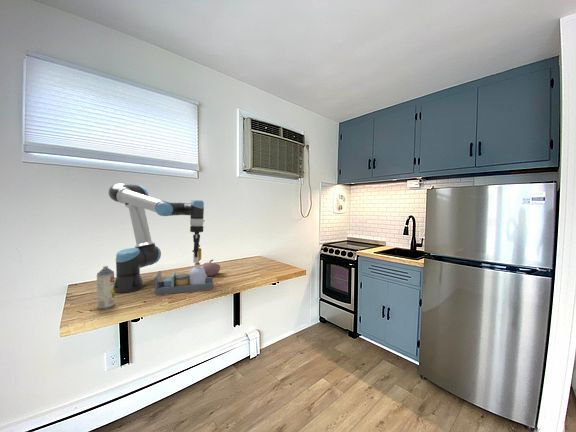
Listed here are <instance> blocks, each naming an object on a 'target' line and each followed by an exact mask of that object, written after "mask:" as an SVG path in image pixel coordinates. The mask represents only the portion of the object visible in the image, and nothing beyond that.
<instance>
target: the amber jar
mask: <svg viewBox="0 0 576 432" xmlns="http://www.w3.org/2000/svg"><path fill="white" fill-rule="evenodd" d="M186 285H189V273H179V274H176V276H175V286H186Z"/></svg>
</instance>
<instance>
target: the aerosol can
mask: <svg viewBox="0 0 576 432" xmlns="http://www.w3.org/2000/svg"><path fill="white" fill-rule="evenodd" d="M114 282H115V271H114V270H112V269H110V268H109V267H108V265H104V266H103V267H102V268H101V270H100V271H98V272H97V273H96V302H97V303H96V305H97V306H96V307H97V308H98V310H106V308H107V309H110V308H112V306H113V307H114V306H115V304H116V303H115V301H116V299H115V298H116V297H115V296H116V295H115V293H116V292H114Z"/></svg>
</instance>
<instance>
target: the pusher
mask: <svg viewBox="0 0 576 432" xmlns="http://www.w3.org/2000/svg"><path fill="white" fill-rule="evenodd" d="M176 273H177V272H176V271H173V272H172V274H171V277H166V278H165V279H164V280H163V281H164V287H175V276H176V275H177V274H176ZM164 287H163V288H164Z"/></svg>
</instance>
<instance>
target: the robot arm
mask: <svg viewBox="0 0 576 432" xmlns="http://www.w3.org/2000/svg"><path fill="white" fill-rule="evenodd" d="M108 197H109V198H110V199H111V200H113V201H114V202H116V203H117V202H118V203H120V204H124V206H125V207H126V208H127V209H128V210H129V215H130V216H129V217H130V220H131V224H132V229H133V234H134V239H135V243H136V245H135V246H134V247H130V248H125V249H122V250H119V251H117V253H116V255H115V257H116V258H115V271H116V272H115V274H116V276H115V279H114V292H115V293H117V294H119V293H120V294H121V293H123V294H124V293H131V292H136V291H137V290H141V289H142V288H144V281H143V279H142V276H141V268H145V267H147V266H152V265H154V264H157V263H158V262H159V260H160V259H161V257H162V253H161V249H160V248H159V246H156V243H155V242H154V241H152V236H151V232H150V228H149V224H148V219H147V213H146V210H148V211H151V212H154V213H156V215H158V216H161V217H169V216H170V217H171V216H190V218H189V222H190V223H189V224H190V227H189V232H190V233H194V234H193V236H192V239H193V249H192V252H193V256H192V257H193V263H194V264H195V263H198V255H199V250H198V248H200V247H201V244H200V239H201V234H200V233H203V232H204V226H203V225H204V222H205V219H204V215H205V214H204V211H205V206H204V205H205V203H204V201H203V200H196V199H195V200H193V199H192V200H191V201H190V203H189V202H188V203H187V202H170V201H169V202H168V201H165V200H162V199H159V198H157V197H152V196H149V191H148V189H146V187H144V186H143V185H138V184H131V183H130V184H129V183H120V182H119V183H115V184H113V185H111V186H110V187H109V189H108Z"/></svg>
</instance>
